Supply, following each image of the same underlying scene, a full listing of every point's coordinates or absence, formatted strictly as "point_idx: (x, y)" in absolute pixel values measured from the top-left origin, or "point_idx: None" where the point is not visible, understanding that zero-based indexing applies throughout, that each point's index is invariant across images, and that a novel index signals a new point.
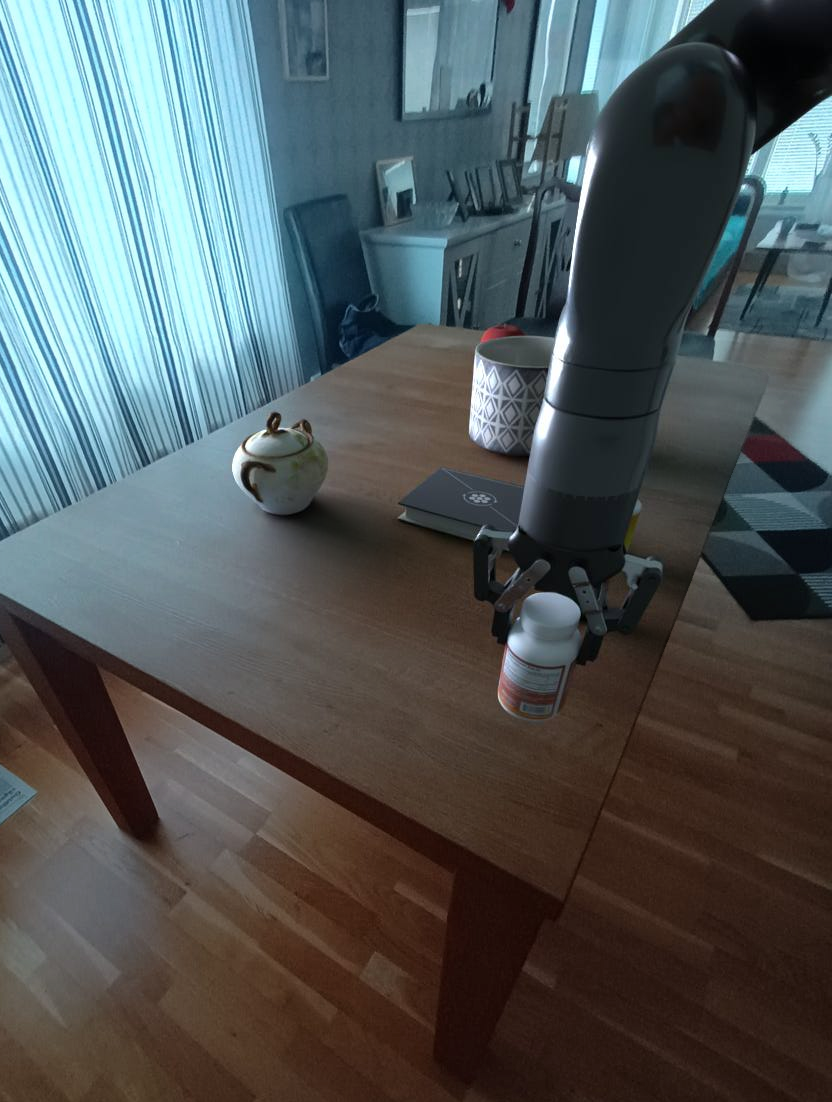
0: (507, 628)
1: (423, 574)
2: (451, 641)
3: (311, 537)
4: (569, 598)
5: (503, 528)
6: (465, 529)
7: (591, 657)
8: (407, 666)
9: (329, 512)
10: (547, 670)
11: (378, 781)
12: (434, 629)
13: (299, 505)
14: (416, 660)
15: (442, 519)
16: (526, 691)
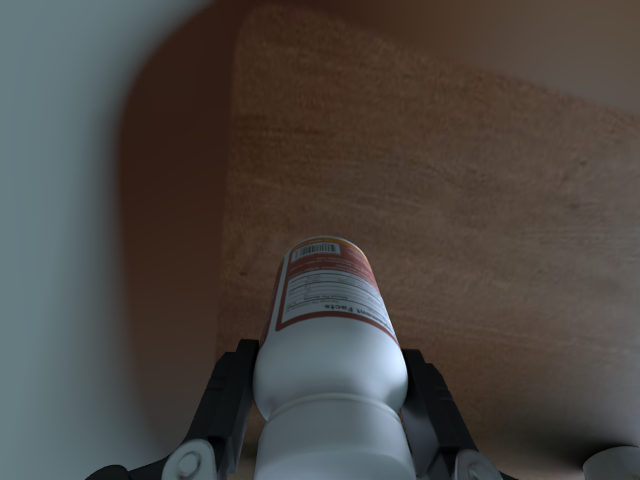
0: (419, 394)
1: None
2: (416, 337)
3: (583, 427)
4: None
5: None
6: (414, 463)
7: (227, 361)
8: (467, 292)
9: (559, 456)
10: (310, 310)
11: (504, 100)
12: (436, 347)
13: (608, 464)
14: (456, 303)
15: None
16: (338, 267)
